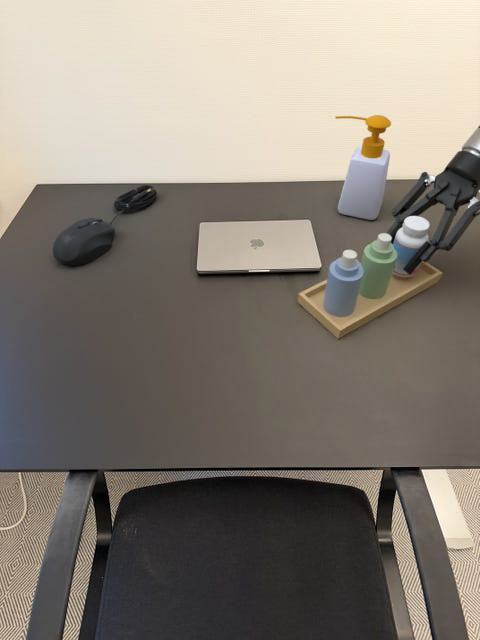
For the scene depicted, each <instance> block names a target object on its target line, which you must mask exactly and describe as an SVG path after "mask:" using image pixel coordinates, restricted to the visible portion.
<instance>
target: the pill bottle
mask: <svg viewBox="0 0 480 640" xmlns="http://www.w3.org/2000/svg"><path fill="white" fill-rule="evenodd" d="M429 229H430V222H429V221H428V219H426V218H424V217H422V216H420V215H419V216H409V217H407V218H406V219H405V220H404V223H403V227H402V228H400V229H399V230H398V231H397V233H396V236H395V240H394V243H393V246H394V249H395V250H396V252H397V259H396V262H395V265H394V268H393V272H392V274H394V275H396V276H399V277H412V276H414V275H415V274H416V273H417V272H418V269H419V267H420V264H421V263H420V264H419V265H418V266H417V268H416V269H415V270H414V271H413V272H412V274H411V275H409V274H408V273H407V272H406V271H405V270H403V268H404V267H405V266H406V265H407V264H408V262H409V261H410V260H411V259H412V258H413V256H414V255H415V254H416V253H417V252H418V250H419V249H420V248H421V247H422V246H423V244H424V243H425V242H426V241H427V242H430V240H429V239H430V236H429V234H428V232H429Z"/></svg>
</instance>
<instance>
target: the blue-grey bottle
mask: <svg viewBox="0 0 480 640" xmlns="http://www.w3.org/2000/svg"><path fill="white" fill-rule="evenodd" d="M357 258H358V253H357V252H356V251H355V250H353V249H345V250H344V251H342V255H341V256H340V257H338V258H337V259H336V260H334V261H332V262H331V263H330V264H329V268H328V272H327V278H326V280H327V284H326V289H325V295H324V300H323V307H324V309H325V310H326V311H327V312H328V313H329V314H331V315H333V316H337V317H345V316H348V315H350V314H352V313H353V311H354V309H355V305H356V301H357V297H358V293H359V289H360V286H361V282H362V278H363V274H364V270H363V268H362V266H361V265H360V264H359V263H360V261H359V260H358V259H357Z"/></svg>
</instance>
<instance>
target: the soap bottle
mask: <svg viewBox="0 0 480 640" xmlns="http://www.w3.org/2000/svg"><path fill="white" fill-rule="evenodd" d="M334 117H335V119H337V120H338V119H353V120H359V121H360V120H362V121H364V123H365V125H366V126H367V129H366V130H367V131H368V132H369V133H371V135H370V136H366V137H364V138H363V140H362V145H358V146H357V147H356V148H355V150H354V151H353V154H352V156H351V157H350V158H351V159H350V160H349V163H348V168H347V171H346V175H345V178H344V182H343V185H342V190H341V193H340V197H339V200H338V204H337V211H338V213H339V214H341V215H344V216H350V217H354V218H359V219H364V220H368V221H375V220H376V219H377V218H378V216H379V214H380V211H381V208H382V205H383V202H384V197H385V190H386V183H387V177H388V172H389V166H390V159H391V153H390V150H388V149H385V147H384V146H385V144H386V143H385V140H384V139H383V138H381V137H380V134H385V132H386V130H387V128H390V127H391V126H392V121H391V120H390V119H389V118H387V116H384V115H381V114H373V115H371V116H367V117H363V116H355V115H337V116H336V115H335V116H334Z"/></svg>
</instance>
